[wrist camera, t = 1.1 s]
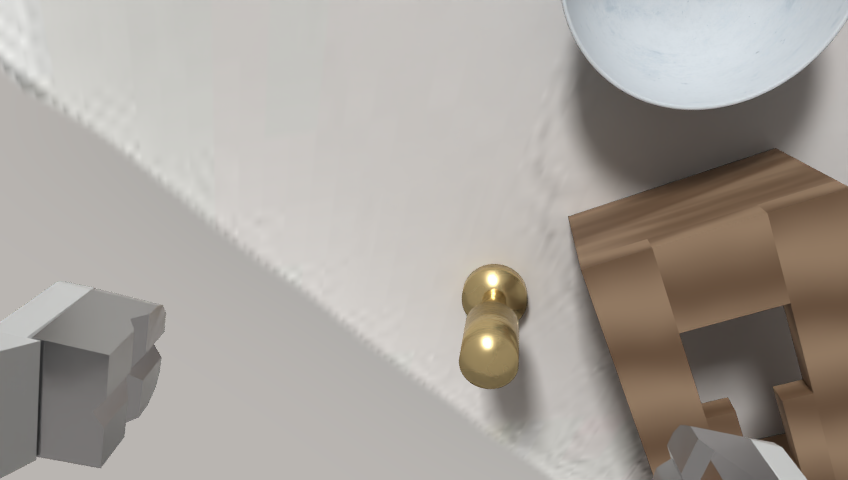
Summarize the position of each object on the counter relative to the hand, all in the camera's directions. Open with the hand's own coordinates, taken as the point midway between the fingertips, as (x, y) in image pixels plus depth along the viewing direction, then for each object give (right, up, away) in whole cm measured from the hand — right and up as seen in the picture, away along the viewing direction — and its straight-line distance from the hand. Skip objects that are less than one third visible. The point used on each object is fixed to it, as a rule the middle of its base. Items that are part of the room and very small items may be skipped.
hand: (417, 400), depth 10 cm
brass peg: (+5, -2, +38) cm, 38 cm away
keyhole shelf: (+21, -4, +37) cm, 43 cm away
